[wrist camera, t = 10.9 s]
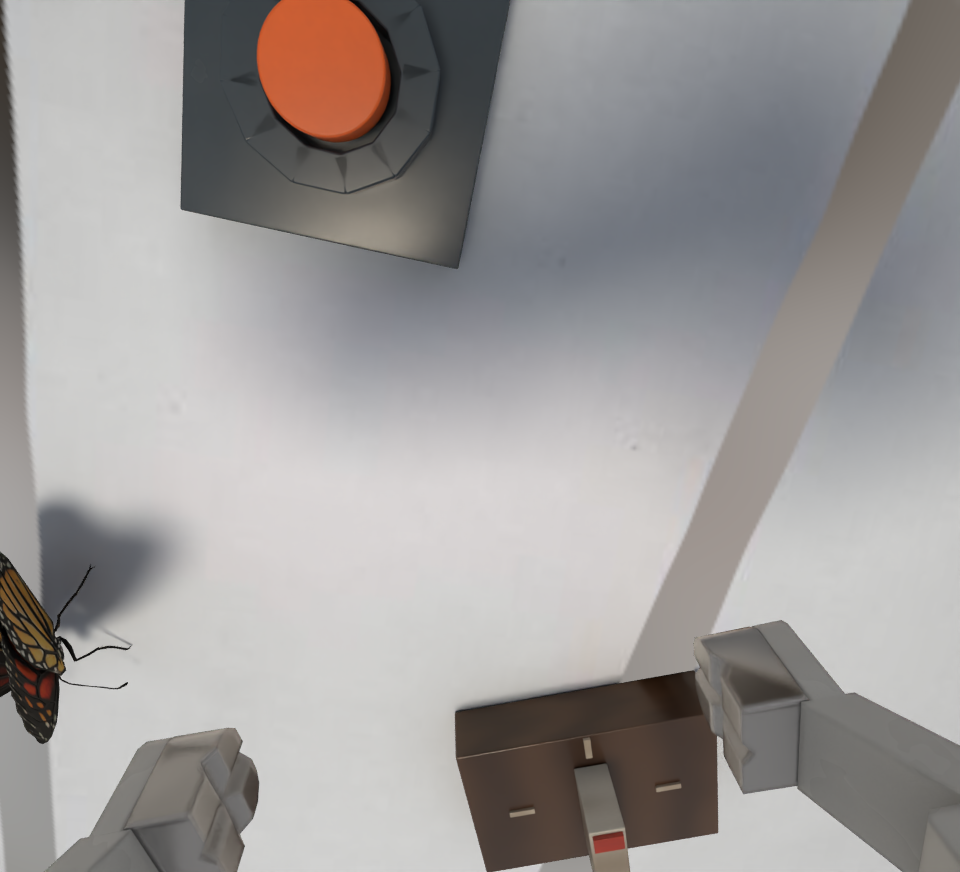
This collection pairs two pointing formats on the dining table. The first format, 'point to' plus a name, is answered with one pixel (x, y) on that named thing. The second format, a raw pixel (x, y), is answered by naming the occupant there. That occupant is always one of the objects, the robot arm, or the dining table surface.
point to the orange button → (324, 68)
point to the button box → (353, 164)
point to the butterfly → (31, 653)
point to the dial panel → (581, 743)
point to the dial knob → (602, 820)
